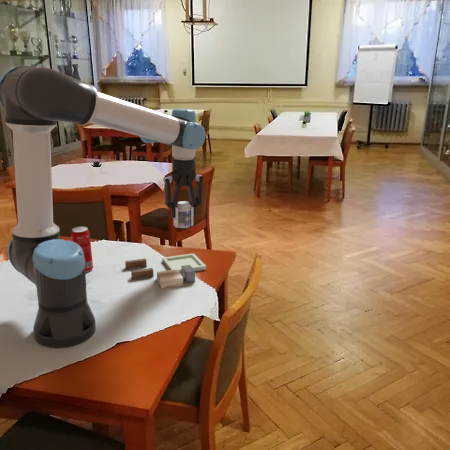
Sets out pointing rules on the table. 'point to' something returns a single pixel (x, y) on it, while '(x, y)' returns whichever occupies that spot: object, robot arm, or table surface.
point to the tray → (184, 262)
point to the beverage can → (83, 244)
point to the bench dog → (188, 273)
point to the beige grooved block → (169, 278)
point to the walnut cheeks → (138, 273)
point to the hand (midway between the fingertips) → (183, 225)
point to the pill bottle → (183, 214)
